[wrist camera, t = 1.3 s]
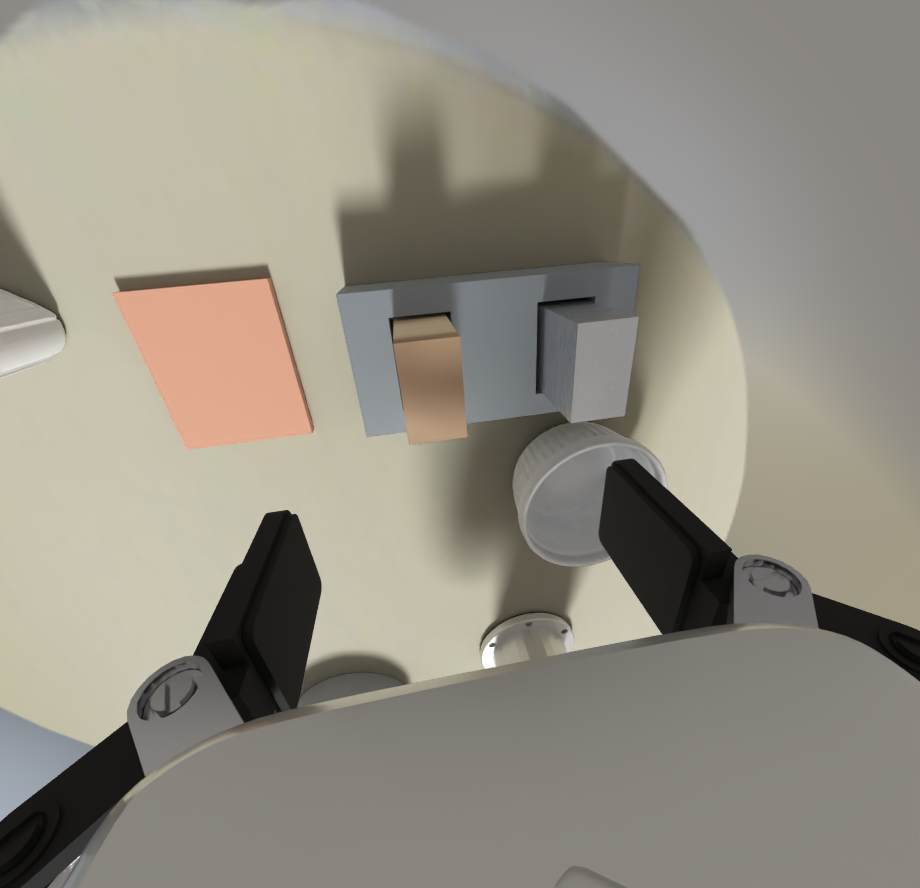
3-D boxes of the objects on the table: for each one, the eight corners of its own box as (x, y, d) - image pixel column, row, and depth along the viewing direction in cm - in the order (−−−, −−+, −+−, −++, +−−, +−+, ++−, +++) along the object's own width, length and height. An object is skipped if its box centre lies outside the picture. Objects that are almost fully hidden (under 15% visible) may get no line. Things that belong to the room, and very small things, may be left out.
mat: (314, 428, 33) (312, 433, 32) (191, 444, 32) (186, 449, 31) (270, 277, 27) (267, 278, 26) (119, 291, 26) (111, 293, 26)
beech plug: (446, 379, 33) (467, 437, 23) (405, 384, 32) (409, 445, 23) (439, 305, 30) (459, 336, 20) (393, 309, 29) (393, 343, 20)
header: (592, 382, 35) (621, 403, 30) (370, 410, 33) (366, 437, 29) (604, 261, 30) (640, 264, 26) (345, 286, 28) (335, 294, 24)
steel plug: (559, 365, 34) (624, 415, 24) (520, 370, 33) (570, 423, 24) (563, 292, 31) (639, 316, 21) (520, 296, 30) (578, 323, 21)
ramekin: (543, 388, 34) (574, 420, 28) (652, 433, 39) (700, 470, 33) (480, 502, 39) (495, 550, 33) (583, 532, 44) (613, 579, 38)
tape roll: (419, 721, 57) (421, 762, 53) (316, 745, 56) (309, 788, 52) (400, 660, 50) (400, 701, 45) (280, 685, 49) (268, 730, 44)
